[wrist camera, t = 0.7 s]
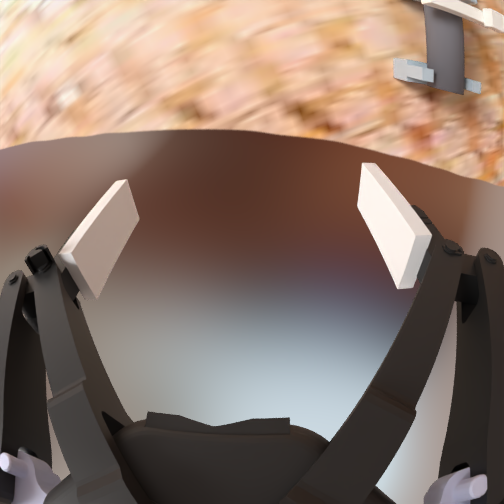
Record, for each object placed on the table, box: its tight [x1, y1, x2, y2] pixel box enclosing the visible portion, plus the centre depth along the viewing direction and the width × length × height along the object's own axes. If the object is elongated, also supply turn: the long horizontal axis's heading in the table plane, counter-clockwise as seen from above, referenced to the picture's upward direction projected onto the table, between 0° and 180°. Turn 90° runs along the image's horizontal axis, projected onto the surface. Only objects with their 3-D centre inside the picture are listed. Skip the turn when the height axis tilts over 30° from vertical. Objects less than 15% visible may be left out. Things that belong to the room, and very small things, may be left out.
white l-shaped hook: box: [421, 0, 504, 33], centre depth 14 cm, size 2×10×4 cm, turn 96°
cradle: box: [393, 0, 481, 94], centre depth 21 cm, size 16×10×8 cm, turn 6°
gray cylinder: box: [423, 0, 464, 95], centre depth 19 cm, size 16×5×5 cm, turn 6°
